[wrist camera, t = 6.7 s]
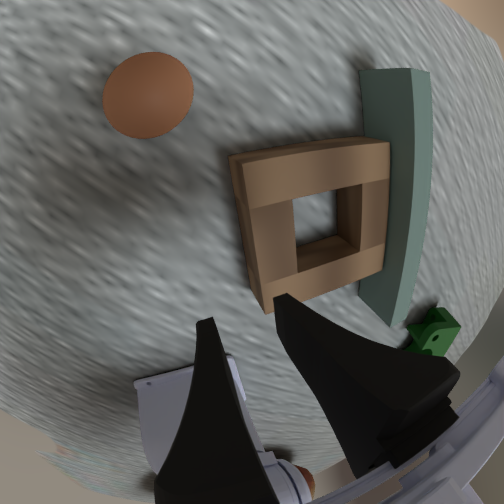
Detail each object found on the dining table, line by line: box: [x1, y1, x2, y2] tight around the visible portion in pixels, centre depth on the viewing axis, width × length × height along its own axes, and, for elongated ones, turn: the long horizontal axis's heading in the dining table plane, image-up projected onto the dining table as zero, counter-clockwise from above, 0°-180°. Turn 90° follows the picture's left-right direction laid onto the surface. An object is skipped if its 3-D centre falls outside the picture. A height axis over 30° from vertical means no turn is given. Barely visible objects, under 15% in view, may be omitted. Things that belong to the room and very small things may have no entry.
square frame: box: [228, 136, 390, 315], centre depth 18 cm, size 10×10×3 cm
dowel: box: [102, 52, 194, 139], centre depth 10 cm, size 3×3×7 cm
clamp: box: [404, 307, 461, 357], centre depth 33 cm, size 12×6×9 cm, turn 166°
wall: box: [359, 68, 433, 328], centre depth 19 cm, size 2×20×5 cm, turn 9°
